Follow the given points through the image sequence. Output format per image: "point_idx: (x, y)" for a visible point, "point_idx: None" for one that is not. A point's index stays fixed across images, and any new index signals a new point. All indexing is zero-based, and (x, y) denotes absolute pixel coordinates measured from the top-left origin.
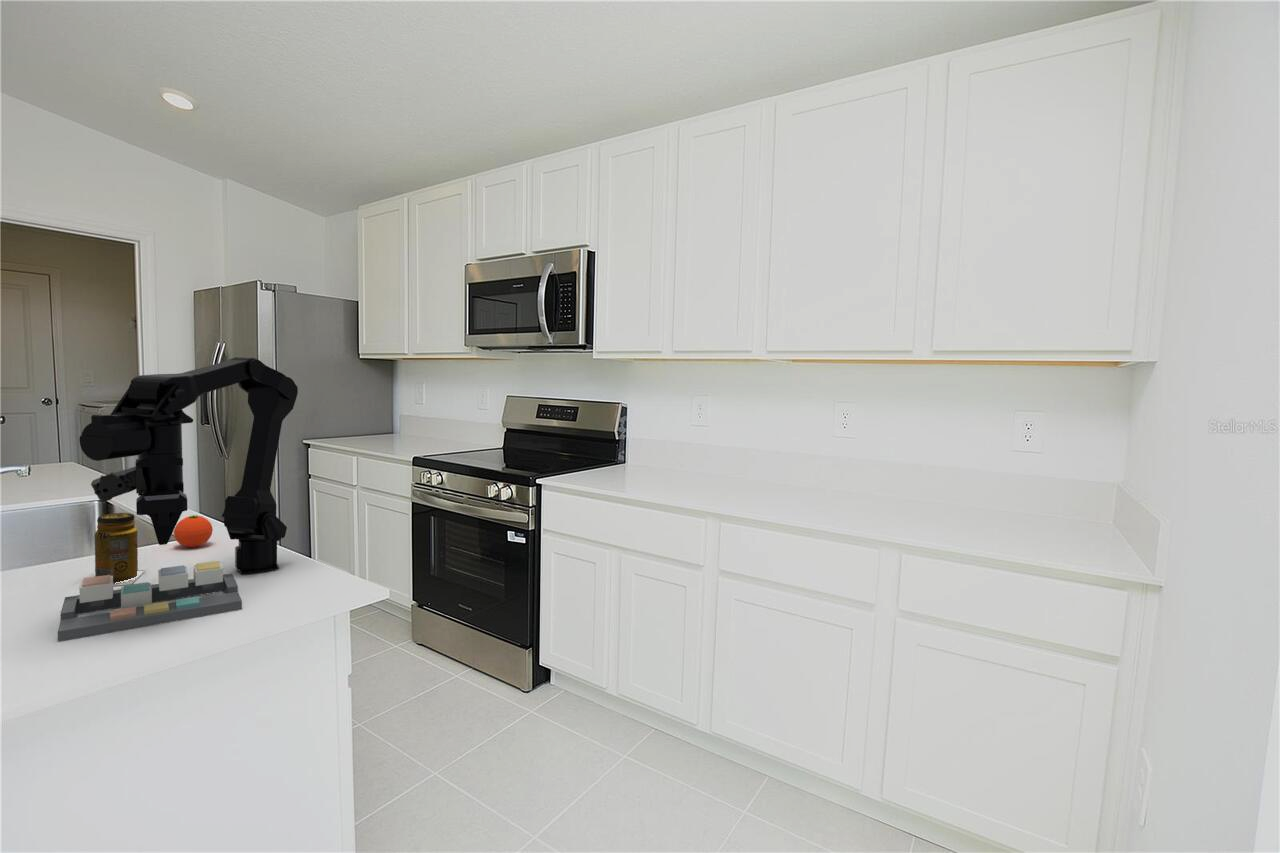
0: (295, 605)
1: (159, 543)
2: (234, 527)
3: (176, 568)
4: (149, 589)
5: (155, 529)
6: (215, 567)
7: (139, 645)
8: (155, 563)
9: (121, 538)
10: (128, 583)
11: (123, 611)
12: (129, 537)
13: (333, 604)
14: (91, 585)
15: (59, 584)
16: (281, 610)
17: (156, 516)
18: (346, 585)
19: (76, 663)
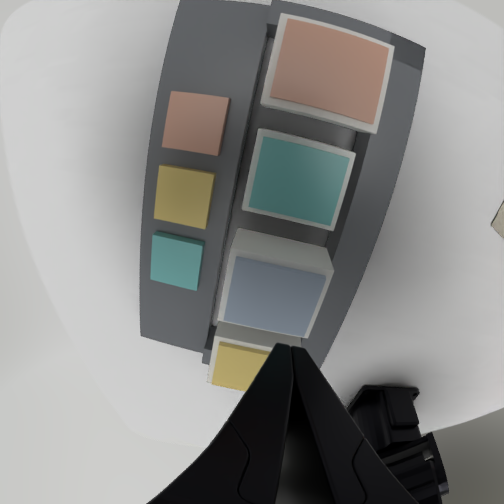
0: (123, 372)
1: (273, 348)
2: (399, 471)
3: (280, 312)
4: (259, 208)
5: (235, 413)
6: (213, 376)
7: (65, 137)
8: None
9: None
10: (498, 222)
11: (192, 122)
12: None
13: (105, 393)
14: (283, 44)
15: None
16: (110, 353)
17: None
18: (177, 434)
19: (57, 50)
